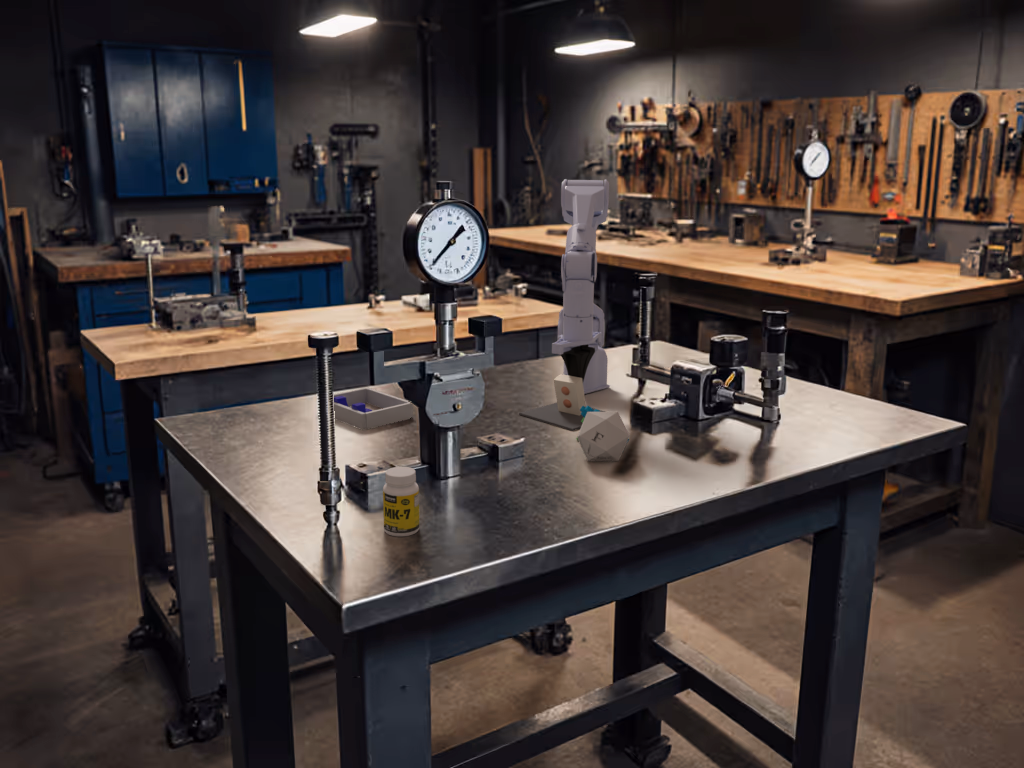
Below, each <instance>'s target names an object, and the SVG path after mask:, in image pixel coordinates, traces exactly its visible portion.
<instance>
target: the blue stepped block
mask: <svg viewBox="0 0 1024 768" xmlns="http://www.w3.org/2000/svg"><path fill="white" fill-rule="evenodd" d="M334 402H336V403H339V404H342V405H344V406H347V407H348V404H347V400H346V397H344V396H338V397H334ZM366 404H367V403H356V404H352V406H351V408H352V409H355V410H358V411H361V412H363V413H366V412H370V411H373V409H370V408H367V407H366Z"/></svg>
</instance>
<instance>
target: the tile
mask: <svg viewBox="0 0 1024 768" xmlns="http://www.w3.org/2000/svg"><path fill="white" fill-rule="evenodd" d="M553 385H554V392H555V399H556V403H557V405H558V411H561V412H565V413H570V414H575V415H579V416H580V415H581V411H580V409H581V407H582V406H585V407H586V406H587V404H586V403H587V402H586V395H585V394H584V388H583V381H582V378H579V377H574V376H569V375H563V373H560V374H559V375H557V376H556V377H555V378H554V379H553Z"/></svg>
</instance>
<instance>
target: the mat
mask: <svg viewBox="0 0 1024 768" xmlns="http://www.w3.org/2000/svg"><path fill="white" fill-rule="evenodd" d="M591 408H592V409H593V410H595V409H597V410H599V411H601V412H607V411H605V410H602V409H598V408H594V407H591ZM518 414H519V416H522V417H526V418H529V419H532V420H536V421H539V422H541V423H545V424H549V425H552V426H555V427H558V428H561V429H565V430H569V431H571V432H572V431H573V432H574V431H576V430H580V428H581V426H582V424H583V423H582V422H581V420H582V419H583V418H584V417H583V416H582V415H580V416H579V415H575V414H570V413H565V412H561V411H558V405H557V402H554V403H550V404H546V405H543V406H539V407H535V408H532V409H527V410H524V411H520V412H519V413H518Z"/></svg>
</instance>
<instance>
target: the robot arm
mask: <svg viewBox="0 0 1024 768" xmlns="http://www.w3.org/2000/svg"><path fill="white" fill-rule="evenodd" d="M609 200H610V182H609V181H608V179H607V178H605V179H604V180H603V179H601V180H600V179H590V180H589V179H567V178H565V179H563V181H562V182H561V188H560V205H561V213H562V217H563V221H564V222H566V223H567V224H570V225H571V226H570V227H569V228H568V230H567V233H566V241H565V252H564V253H562V256H561V265H560V271H561V273H560V274H561V275H560V276H561V281H562V283H561V284H562V292H563V294H562V297H563V298H562V299H563V300H562V301H563V302H562V305H563V306H562V308H561V309H560V312H559V314H558V323H557V341H555V342H552V343H551V354H553V355H554V354H555V355H560V356H561V358H562V360H563V373H562V374H563V375H569V376H574V377H579V378H582V381H583V388H584V395H585V394H589V393H593V392H597V391H602V390H605V389H608V388H610V387H611V385H610V384H607V383H608V360H609V359H608V355H607V352H606V351H605V349H604V348H603V346H604V344H605V326H606V325H605V322H606V321H605V313H604V310H603V309H602V308H601V307H599V306H598V305H597V304H596V303H595V302H594V298H595V297H594V293H595V283H596V280H597V276H598V275H597V273H598V256H597V249H596V248H597V247H596V246H597V230H598V226H599V225H601V224H603V223H605V222H607V217H608V215H609V214H608V213H609V205H610V203H609Z"/></svg>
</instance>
